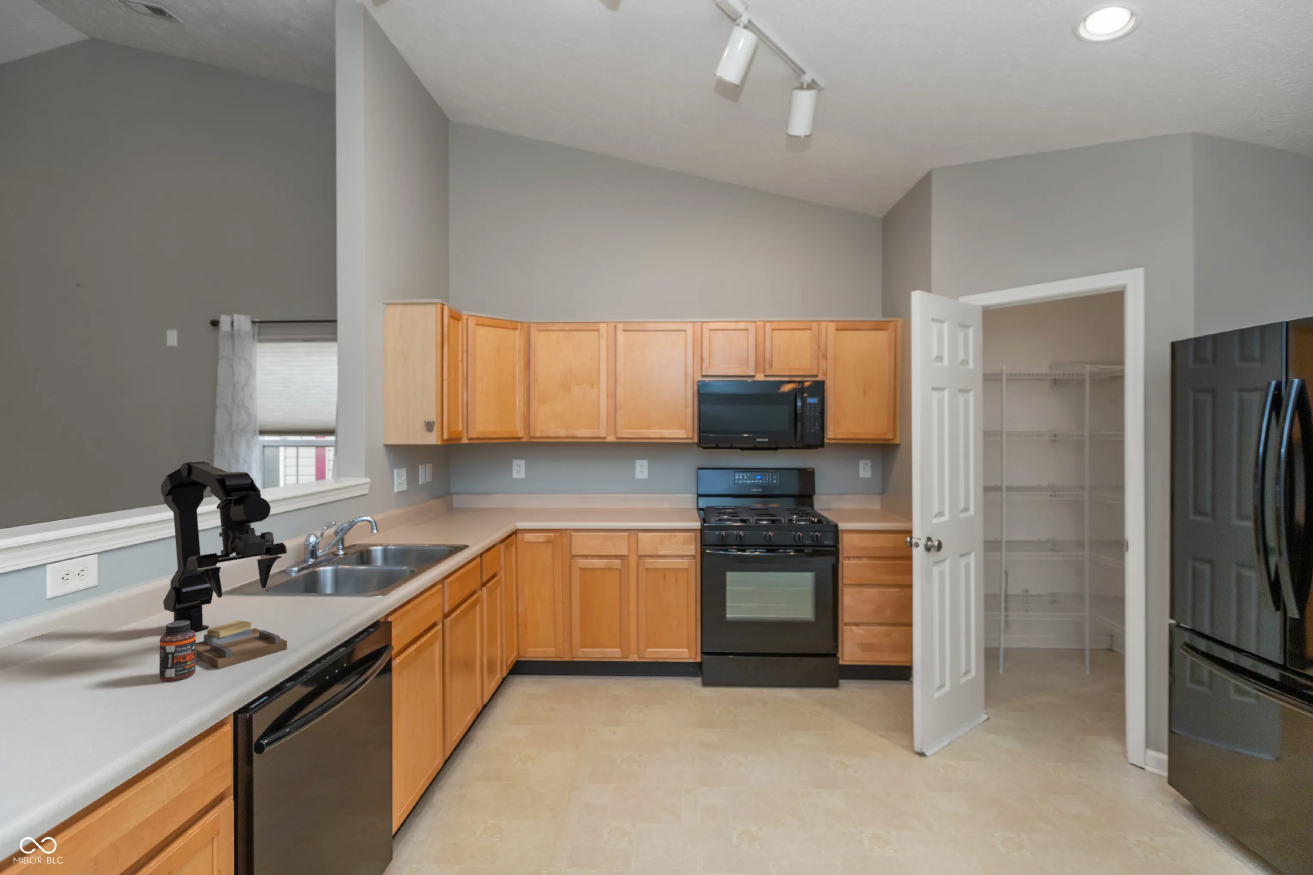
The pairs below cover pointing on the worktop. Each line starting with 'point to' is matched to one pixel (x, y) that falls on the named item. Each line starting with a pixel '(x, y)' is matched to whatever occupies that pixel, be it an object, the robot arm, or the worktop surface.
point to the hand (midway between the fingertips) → (242, 592)
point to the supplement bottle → (177, 652)
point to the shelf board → (236, 644)
